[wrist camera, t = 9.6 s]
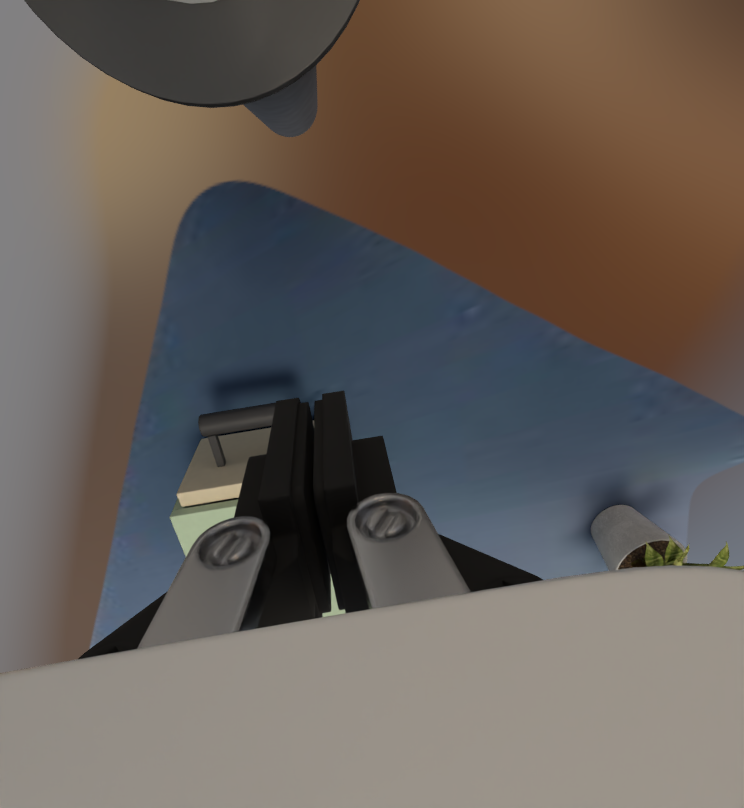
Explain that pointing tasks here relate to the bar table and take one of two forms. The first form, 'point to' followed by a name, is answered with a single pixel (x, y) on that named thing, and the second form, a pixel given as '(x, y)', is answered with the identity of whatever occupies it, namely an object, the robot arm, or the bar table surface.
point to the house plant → (641, 542)
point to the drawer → (225, 454)
